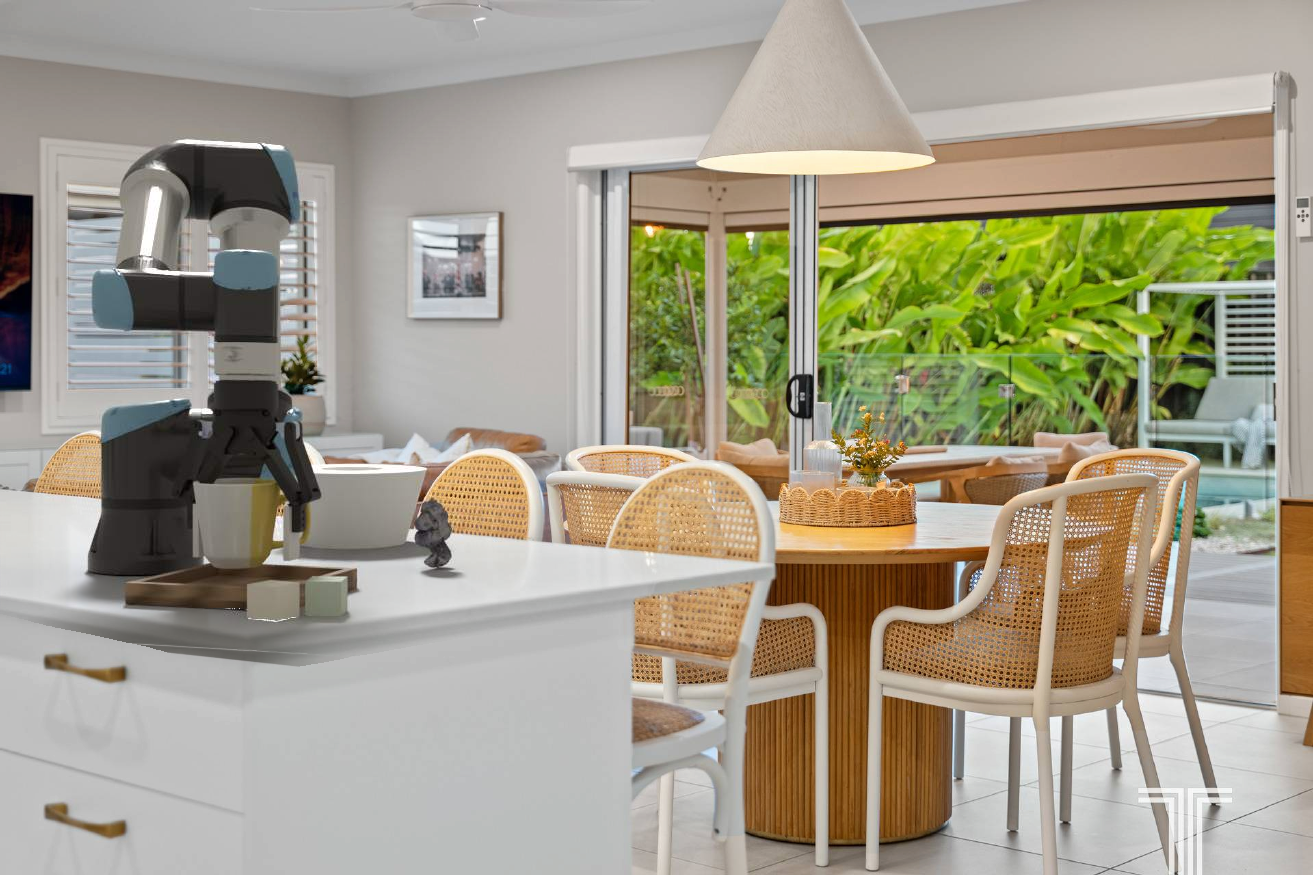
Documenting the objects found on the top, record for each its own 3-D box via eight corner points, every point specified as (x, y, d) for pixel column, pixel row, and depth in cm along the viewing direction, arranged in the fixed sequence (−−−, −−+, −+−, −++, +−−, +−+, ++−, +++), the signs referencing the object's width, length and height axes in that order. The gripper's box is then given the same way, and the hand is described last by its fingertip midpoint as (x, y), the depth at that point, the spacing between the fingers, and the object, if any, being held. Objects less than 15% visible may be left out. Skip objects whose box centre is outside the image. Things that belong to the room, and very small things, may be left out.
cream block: (246, 620, 159) (247, 584, 159) (270, 615, 163) (270, 579, 163) (276, 623, 158) (276, 586, 158) (299, 617, 161) (299, 582, 161)
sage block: (305, 616, 162) (305, 581, 162) (312, 611, 166) (312, 576, 166) (341, 616, 162) (341, 581, 162) (347, 611, 166) (347, 576, 166)
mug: (184, 571, 170) (184, 483, 170) (202, 561, 181) (203, 477, 180) (302, 571, 172) (303, 483, 171) (314, 561, 182) (314, 478, 182)
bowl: (415, 552, 222) (415, 474, 221) (258, 550, 222) (258, 472, 221) (436, 535, 246) (436, 464, 245) (294, 534, 246) (294, 463, 245)
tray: (125, 603, 169) (125, 582, 169) (214, 580, 188) (214, 561, 188) (282, 612, 165) (282, 590, 164) (356, 587, 184) (357, 568, 184)
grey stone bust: (445, 570, 201) (445, 499, 200) (408, 569, 202) (408, 498, 202) (457, 566, 206) (458, 496, 206) (422, 564, 207) (422, 495, 207)
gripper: (141, 377, 174) (141, 557, 175) (322, 379, 169) (322, 564, 170) (175, 378, 182) (175, 551, 183) (349, 379, 176) (349, 557, 177)
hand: (246, 557), depth 176 cm, fingers closed on mug, 11 cm apart
